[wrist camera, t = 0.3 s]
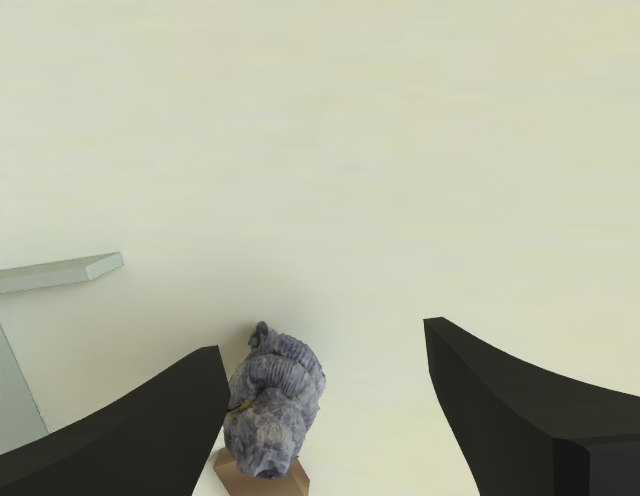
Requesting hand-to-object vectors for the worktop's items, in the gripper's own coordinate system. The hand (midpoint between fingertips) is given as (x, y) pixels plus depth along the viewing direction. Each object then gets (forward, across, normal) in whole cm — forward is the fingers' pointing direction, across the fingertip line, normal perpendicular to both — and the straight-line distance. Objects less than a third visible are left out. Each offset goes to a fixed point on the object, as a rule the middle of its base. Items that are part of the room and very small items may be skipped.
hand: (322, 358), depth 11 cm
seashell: (+10, +3, +4) cm, 11 cm away
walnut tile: (+10, +8, +14) cm, 19 cm away
